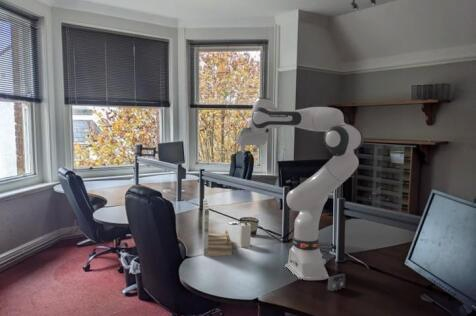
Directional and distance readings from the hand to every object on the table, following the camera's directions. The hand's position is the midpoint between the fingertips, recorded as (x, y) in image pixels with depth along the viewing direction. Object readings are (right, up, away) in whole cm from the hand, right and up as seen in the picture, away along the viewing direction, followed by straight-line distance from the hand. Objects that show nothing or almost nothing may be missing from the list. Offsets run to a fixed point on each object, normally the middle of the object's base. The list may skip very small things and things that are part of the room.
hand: (248, 152), depth 195 cm
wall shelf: (-16, -51, +3) cm, 54 cm away
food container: (+2, -50, +29) cm, 57 cm away
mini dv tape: (+35, -58, -43) cm, 80 cm away
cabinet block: (-2, -51, +7) cm, 52 cm away
